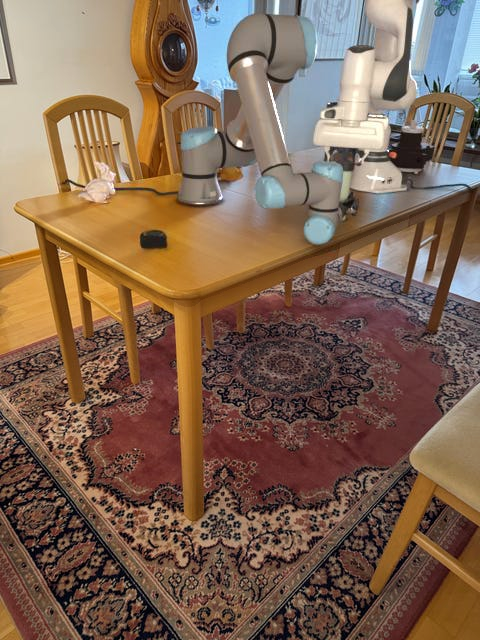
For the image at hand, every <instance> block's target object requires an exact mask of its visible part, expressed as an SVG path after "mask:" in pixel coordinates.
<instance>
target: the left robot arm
mask: <svg viewBox="0 0 480 640" xmlns="http://www.w3.org/2000/svg"><path fill="white" fill-rule="evenodd" d="M317 35H318V34H317V31H316V27H315V24H314V22H313V21H312V20H311V19H310V18H309V17H307V16H302V15H298V14H293V15H289V14H275V13H263V12H254V13H250V14H249V15H246V16H244V17H243V18H242V19H241V20H240V21H239V22H238V23H237V24H236V25H235V27H234V28H233V30H232V32H231V34H230V36H229V39H228V43H227V47H226V66H227V70H228V71H227V72H228V75H229V77H230V80H231V81H233V82H234V83H235V84H236V89H237V91H238V94H239V98H240V102H241V106H240V108H239V110H238V113H237V115H236V117H235V119H233V120H231V121H230V122H229V123H228V124H227V126H226V129H225V130H217V128H216V126H208V125H207V126H198V127H197V126H196V127H192V128H189V129H186V130H184V131H183V132H182V133H181V135H180V144H179V145H180V158H181V181H180V184H179V188H178V190H175V191H166V192H160V191H158V190H157V189H154V188H152V187H142V186H141V187H140V186H139V187H136V186H135V187H113V188H114V190H115V192H116V191H117V192H118V191H119V192H120V191H148V192H153V193H155V194H156V195H157V196H162V197H163V196H170V195H177V202H178V203H179V204H181V205H184V206H187V207H199V208H200V207H202V208H203V207H212V206H217V205H219V204H221V203H222V202H223V195H222V190H221V187H220V184H219V182H218V181H219V180H218V177H217V172H218V170H217V169H221V168H228V167H242V168H246V167H249V166H253V165H256V164H257V165H258V168H259V173H260V177H259V178H258V179H257V180H256V182H255V187H254V192H255V195H254V196H255V200H256V202H257V205H259V207H260V208H262V209H265V210H275V209H276V210H280V209H283V208H289V207H290V208H291V207H298V206H307V205H308V213H307V219H306V221H305V222H304V226H303V235H304V237H305V239H306V240H307V241H308V242H309V243H311V244H313V245H317V246H321V245H324V244H326V243H328V242H329V241H330V240H331V239H333V237H334V235H335V233H336V231H337V229H338V228H339V226H340V225H341V223H342V220H343V218H344V216H345V215H346V216H347V215H348V214H349V215H351V216H352V217H357V213H358V209H359V205H360V198H356V196H354V191H350V192H349V196H348V199H347V200H345V201H339V200H340V194H341V188H342V183H343V167H342V165H341V164H339V163H336V161H332V162H330V161H324V160H321V161H320V160H319V161H316V162H314V163H313V165H312V168H311V171H310V172H309V171H308V172H298V173H294V170H293V166H292V163H291V160H290V156H289V153H288V149H287V146H286V141H285V138H284V134H283V131H282V126H281V123H280V120H279V116H278V113H277V112H278V111H277V109H276V101H277V100H278V98H279V96H280V94H281V92H282V91H283V89H284V86H285V85H288V84H289V83H290V84H291V83H292V81H293V80H294V79H295V78H296V76H297V73H298V72H299V70H302V71H303V70H307V69H309V68H311V67H312V65H313V64H314V63H315V59H316V56H317V51H318V50H317V49H318V36H317ZM64 180H65V182H64ZM64 180H63V182H61V183H62V185H66V183H70V184H71V185H73V186H75V187H78V188H81V189H84V188H85V187H86V185H84V184H80V183H77V182H75V181H73V180H72V179H69V178H68V179H64ZM343 221H344V220H343Z"/></svg>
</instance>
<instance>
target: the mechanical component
mask: <svg viewBox="0 0 480 640" xmlns="http://www.w3.org/2000/svg"><path fill="white" fill-rule="evenodd" d="M424 131H425V128H424V127H422V126H418V120H416V119H410V123H409V125H403V126H401V129H400V134H399V140H398V143H392V144H391V148H388V151H390V152H395V154H397V156H396V157H395V158H392V157H390V161H391V162H392V163H393V164H394V165H395V166H396V167H397V168H398V169H399V170H400V171H401V172H406V173H413V174H415V175H418V174H419V172H421V171H423V169H425V168H426V167H427V162H429V161H432V160H433V157H434V155H435V148H436V146H435V145H431V144H430V143H428V142H422V139H423V134H424Z"/></svg>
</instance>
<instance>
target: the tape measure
mask: <svg viewBox="0 0 480 640" xmlns="http://www.w3.org/2000/svg"><path fill="white" fill-rule="evenodd" d="M167 236H168V235H167V234H166V232H165V231H164V230H161V229H147V230H144V231H143V232H141V233H140V235H139V240H140V241H139V245H140V246H139V247H141V248H142V249H146V250H157V249H167V248H168V240H167V239H168V237H167Z"/></svg>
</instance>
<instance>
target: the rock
mask: <svg viewBox="0 0 480 640" xmlns="http://www.w3.org/2000/svg"><path fill="white" fill-rule="evenodd" d="M335 152H337V153H342V147H340V148H338V149H336V150H335ZM348 154H352V153H351V151H350V150H349V152H348Z"/></svg>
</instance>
